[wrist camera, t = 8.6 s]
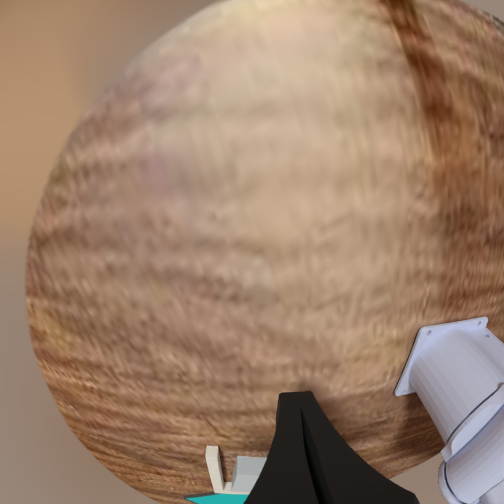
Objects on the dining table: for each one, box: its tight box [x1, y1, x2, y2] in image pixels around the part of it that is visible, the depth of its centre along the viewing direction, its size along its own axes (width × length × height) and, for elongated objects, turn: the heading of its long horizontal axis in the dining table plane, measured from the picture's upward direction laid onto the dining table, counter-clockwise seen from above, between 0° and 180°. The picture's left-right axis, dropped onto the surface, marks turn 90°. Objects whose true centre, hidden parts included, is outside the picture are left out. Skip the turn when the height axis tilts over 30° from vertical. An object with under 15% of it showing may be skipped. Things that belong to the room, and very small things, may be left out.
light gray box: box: [231, 456, 267, 493], centre depth 25 cm, size 9×6×3 cm, turn 81°
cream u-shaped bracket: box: [206, 445, 249, 494], centre depth 25 cm, size 14×12×2 cm
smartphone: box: [184, 492, 249, 504], centre depth 30 cm, size 7×1×15 cm
